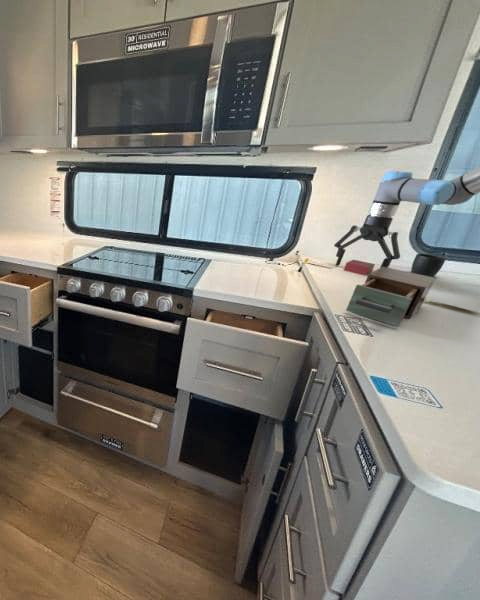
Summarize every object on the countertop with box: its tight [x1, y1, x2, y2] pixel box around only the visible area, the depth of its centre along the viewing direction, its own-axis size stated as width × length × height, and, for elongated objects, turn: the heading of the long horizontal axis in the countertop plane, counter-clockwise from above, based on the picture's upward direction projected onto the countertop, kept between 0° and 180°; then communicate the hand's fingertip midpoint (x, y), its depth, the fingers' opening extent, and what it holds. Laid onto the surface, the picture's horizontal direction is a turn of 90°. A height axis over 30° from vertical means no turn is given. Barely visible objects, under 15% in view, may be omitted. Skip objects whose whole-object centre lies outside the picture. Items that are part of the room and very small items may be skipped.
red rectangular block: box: [343, 259, 375, 276], centre depth 130 cm, size 7×9×5 cm
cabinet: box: [364, 266, 437, 320], centre depth 100 cm, size 17×13×10 cm
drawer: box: [345, 278, 419, 328], centre depth 91 cm, size 21×11×8 cm, turn 128°
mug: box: [410, 253, 447, 278], centre depth 131 cm, size 8×12×10 cm
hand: (357, 270), depth 130 cm, fingers open, 13 cm apart
